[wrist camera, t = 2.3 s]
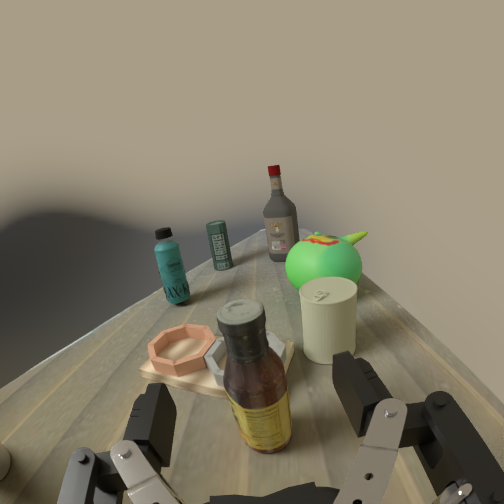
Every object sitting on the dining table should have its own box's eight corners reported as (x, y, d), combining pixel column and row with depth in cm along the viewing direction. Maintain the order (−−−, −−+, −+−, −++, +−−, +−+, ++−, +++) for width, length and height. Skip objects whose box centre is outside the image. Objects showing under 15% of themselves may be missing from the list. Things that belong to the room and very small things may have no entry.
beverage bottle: (163, 305, 70) (144, 232, 64) (182, 295, 75) (164, 225, 69) (179, 311, 66) (158, 232, 60) (197, 299, 71) (180, 224, 65)
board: (142, 376, 43) (138, 368, 42) (179, 338, 54) (176, 330, 54) (273, 406, 34) (271, 397, 34) (294, 351, 46) (293, 342, 45)
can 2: (292, 355, 45) (286, 293, 41) (319, 328, 51) (316, 270, 47) (341, 371, 39) (342, 305, 35) (363, 339, 45) (366, 278, 41)
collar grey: (197, 381, 39) (193, 370, 38) (228, 339, 49) (225, 328, 48) (271, 394, 34) (269, 382, 34) (291, 344, 45) (290, 332, 44)
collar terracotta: (141, 366, 43) (136, 355, 42) (175, 332, 53) (171, 321, 52) (196, 381, 39) (191, 369, 38) (226, 339, 49) (224, 327, 48)
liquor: (294, 262, 86) (282, 164, 77) (267, 262, 90) (254, 168, 81) (302, 252, 94) (291, 163, 85) (277, 252, 98) (265, 166, 89)
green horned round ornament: (274, 297, 66) (267, 238, 62) (317, 272, 76) (313, 220, 72) (338, 319, 53) (336, 249, 48) (374, 285, 63) (374, 226, 58)
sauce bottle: (252, 416, 33) (222, 288, 27) (297, 421, 31) (285, 288, 25) (236, 453, 27) (190, 324, 21) (286, 461, 25) (266, 330, 19)
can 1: (232, 262, 95) (224, 219, 91) (233, 268, 90) (225, 222, 85) (214, 265, 95) (206, 222, 90) (214, 271, 89) (205, 226, 85)
